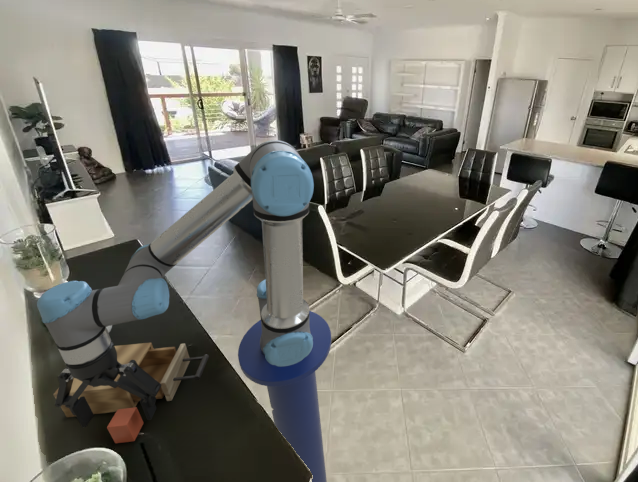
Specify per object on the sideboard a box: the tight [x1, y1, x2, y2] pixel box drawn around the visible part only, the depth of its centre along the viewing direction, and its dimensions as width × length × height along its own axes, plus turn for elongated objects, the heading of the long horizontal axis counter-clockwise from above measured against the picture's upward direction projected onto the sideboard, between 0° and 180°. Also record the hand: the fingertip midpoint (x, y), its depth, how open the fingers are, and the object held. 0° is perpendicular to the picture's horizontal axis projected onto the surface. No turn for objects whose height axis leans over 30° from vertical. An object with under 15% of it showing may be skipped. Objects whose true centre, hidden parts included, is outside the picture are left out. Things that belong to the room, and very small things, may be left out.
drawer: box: [130, 342, 210, 402], centre depth 87 cm, size 21×12×7 cm, turn 97°
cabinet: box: [52, 342, 155, 418], centre depth 85 cm, size 16×14×9 cm
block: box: [106, 406, 144, 444], centre depth 76 cm, size 4×4×6 cm
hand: (120, 417), depth 74 cm, fingers open, 13 cm apart
